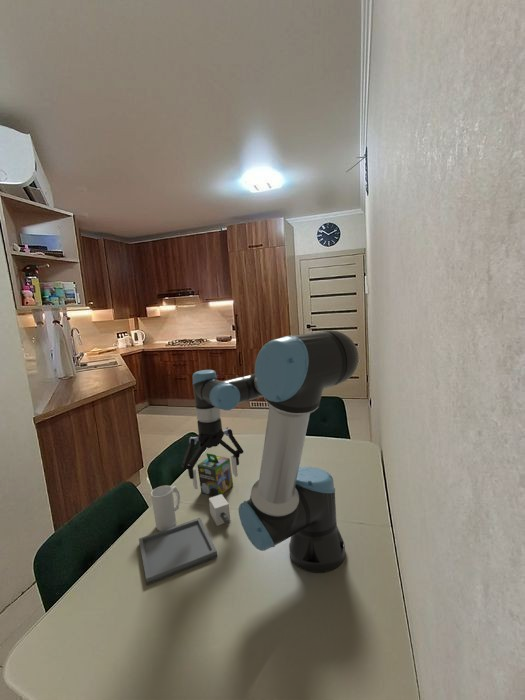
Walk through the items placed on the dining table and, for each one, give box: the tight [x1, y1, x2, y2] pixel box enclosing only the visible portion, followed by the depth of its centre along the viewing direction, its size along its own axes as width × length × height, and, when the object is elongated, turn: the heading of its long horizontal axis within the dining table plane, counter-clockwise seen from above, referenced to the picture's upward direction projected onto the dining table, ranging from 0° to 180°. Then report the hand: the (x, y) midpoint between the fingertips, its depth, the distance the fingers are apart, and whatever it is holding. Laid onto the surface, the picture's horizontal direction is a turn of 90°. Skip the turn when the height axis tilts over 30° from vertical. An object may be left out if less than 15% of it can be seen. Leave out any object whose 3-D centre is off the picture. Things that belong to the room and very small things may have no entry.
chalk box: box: [197, 453, 234, 497], centre depth 132 cm, size 9×9×15 cm
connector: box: [208, 494, 231, 526], centre depth 114 cm, size 15×5×6 cm, turn 25°
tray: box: [138, 517, 218, 586], centre depth 101 cm, size 18×19×2 cm
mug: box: [150, 485, 181, 532], centre depth 114 cm, size 10×7×12 cm, turn 144°
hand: (215, 480), depth 113 cm, fingers open, 13 cm apart
